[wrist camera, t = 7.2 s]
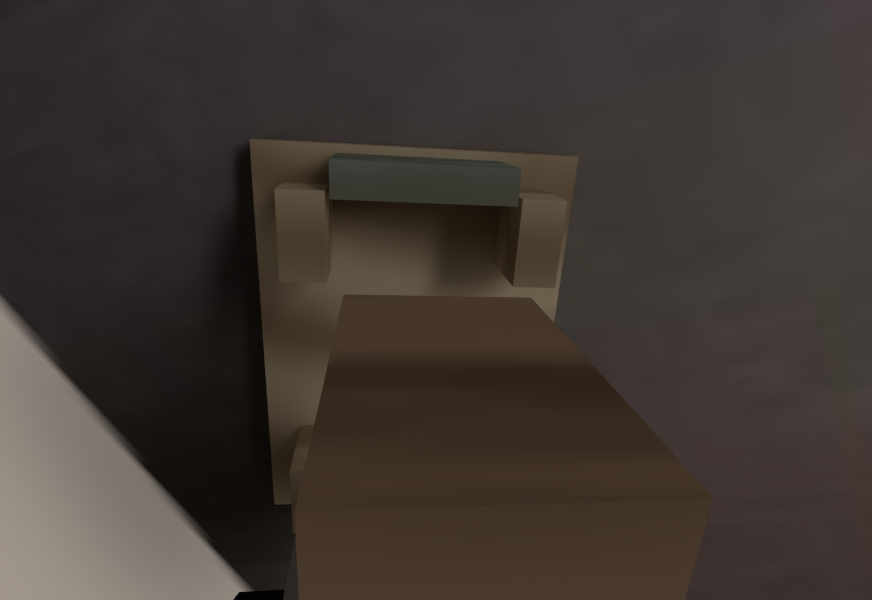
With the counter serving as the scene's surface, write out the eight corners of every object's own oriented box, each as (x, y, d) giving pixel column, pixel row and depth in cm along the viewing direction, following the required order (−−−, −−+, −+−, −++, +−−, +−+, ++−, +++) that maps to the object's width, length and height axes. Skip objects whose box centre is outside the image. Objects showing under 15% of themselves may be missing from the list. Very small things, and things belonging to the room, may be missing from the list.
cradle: (255, 138, 18) (224, 143, 14) (569, 154, 20) (613, 163, 16) (278, 489, 24) (259, 559, 20) (522, 482, 25) (547, 546, 21)
